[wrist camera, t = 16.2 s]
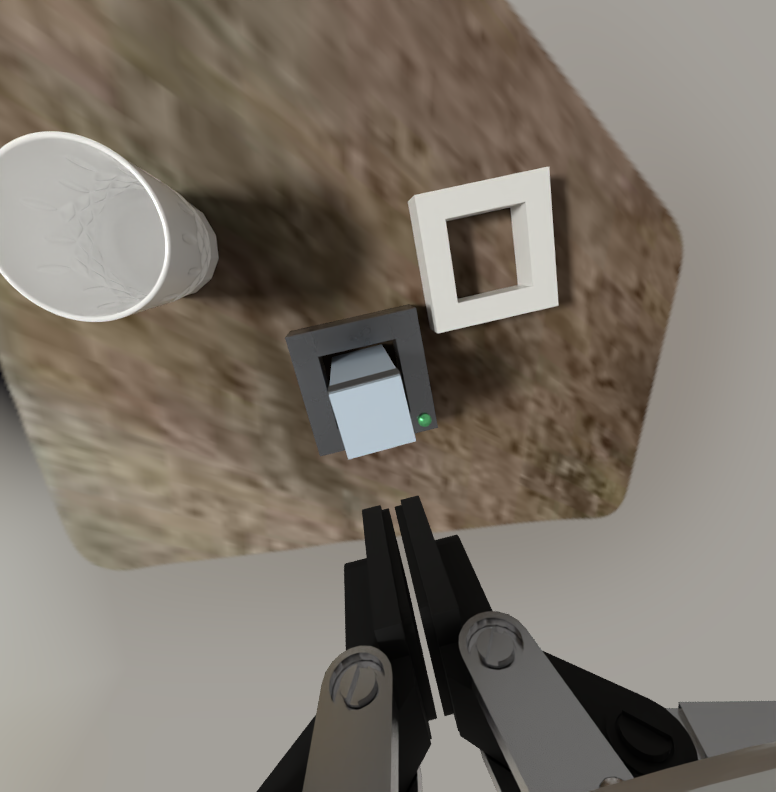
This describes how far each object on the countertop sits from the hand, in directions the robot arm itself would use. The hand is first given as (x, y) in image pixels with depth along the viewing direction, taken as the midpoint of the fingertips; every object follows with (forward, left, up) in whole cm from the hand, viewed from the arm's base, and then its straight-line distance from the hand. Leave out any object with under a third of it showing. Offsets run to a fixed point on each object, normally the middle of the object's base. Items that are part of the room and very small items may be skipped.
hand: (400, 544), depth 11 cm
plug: (0, 0, -21) cm, 21 cm away
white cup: (-12, -11, -21) cm, 27 cm away
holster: (-7, +11, -21) cm, 24 cm away
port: (0, 0, -21) cm, 21 cm away
